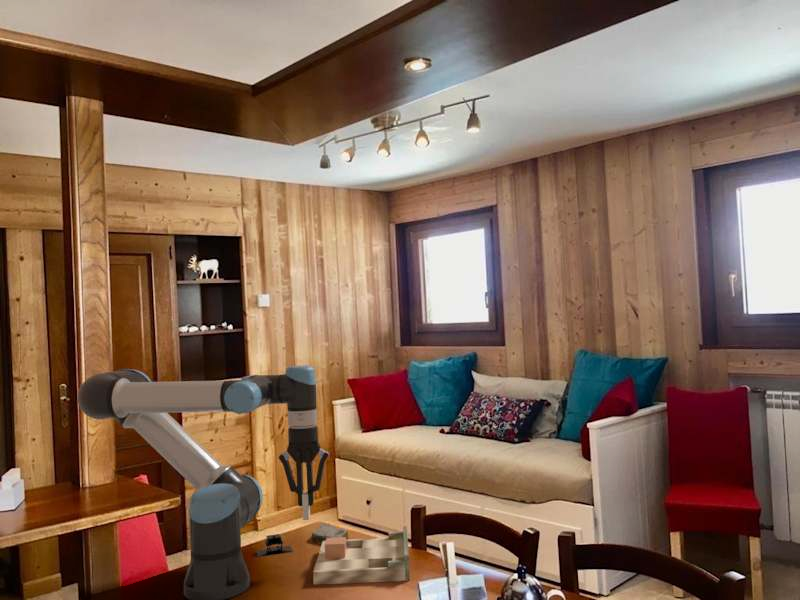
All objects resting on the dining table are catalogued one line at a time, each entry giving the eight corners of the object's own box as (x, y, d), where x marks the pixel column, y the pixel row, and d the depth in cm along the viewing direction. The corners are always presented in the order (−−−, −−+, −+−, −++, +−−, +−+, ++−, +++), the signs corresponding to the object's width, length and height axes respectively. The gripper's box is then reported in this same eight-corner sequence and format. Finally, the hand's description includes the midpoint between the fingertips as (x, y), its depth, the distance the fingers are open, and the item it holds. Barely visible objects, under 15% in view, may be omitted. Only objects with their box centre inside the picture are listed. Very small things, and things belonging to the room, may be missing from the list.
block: (325, 558, 165) (324, 544, 165) (327, 551, 170) (326, 537, 170) (345, 557, 165) (344, 543, 165) (346, 550, 170) (345, 537, 170)
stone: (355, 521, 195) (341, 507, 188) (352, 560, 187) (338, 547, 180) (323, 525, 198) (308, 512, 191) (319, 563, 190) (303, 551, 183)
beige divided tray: (313, 584, 156) (312, 559, 157) (323, 551, 178) (322, 529, 179) (409, 580, 157) (408, 555, 157) (407, 548, 179) (406, 526, 179)
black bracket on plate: (252, 560, 175) (252, 543, 175) (249, 552, 182) (249, 535, 182) (298, 553, 179) (298, 536, 179) (294, 545, 186) (293, 529, 186)
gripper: (274, 429, 165) (278, 524, 164) (326, 427, 165) (330, 521, 164) (279, 424, 172) (283, 515, 171) (329, 422, 172) (333, 512, 172)
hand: (306, 518), depth 168 cm, fingers closed
